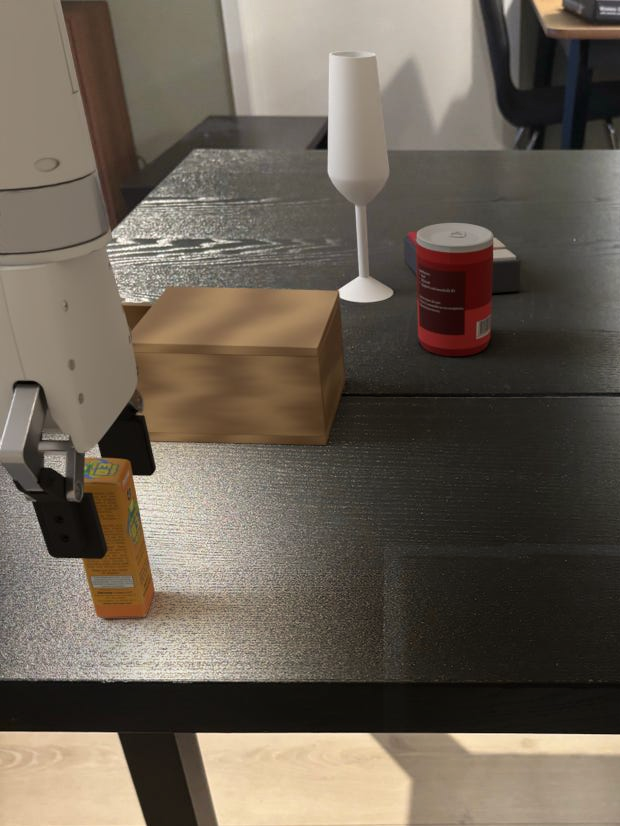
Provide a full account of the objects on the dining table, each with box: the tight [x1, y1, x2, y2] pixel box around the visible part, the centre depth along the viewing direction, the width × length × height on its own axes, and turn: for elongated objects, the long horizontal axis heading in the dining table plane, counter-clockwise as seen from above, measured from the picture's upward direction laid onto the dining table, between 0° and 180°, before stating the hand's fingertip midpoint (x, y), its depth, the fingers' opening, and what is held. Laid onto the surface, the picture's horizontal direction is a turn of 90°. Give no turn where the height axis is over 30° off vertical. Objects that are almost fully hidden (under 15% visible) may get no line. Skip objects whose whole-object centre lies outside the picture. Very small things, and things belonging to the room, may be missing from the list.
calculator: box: [403, 231, 521, 294], centre depth 115 cm, size 11×4×15 cm
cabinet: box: [131, 285, 347, 446], centre depth 83 cm, size 16×14×9 cm
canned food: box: [416, 222, 494, 357], centre depth 95 cm, size 8×8×11 cm
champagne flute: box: [327, 50, 394, 303], centre depth 103 cm, size 7×7×24 cm
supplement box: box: [81, 457, 155, 619], centre depth 59 cm, size 3×4×10 cm
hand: (107, 511), depth 57 cm, fingers open, 9 cm apart
